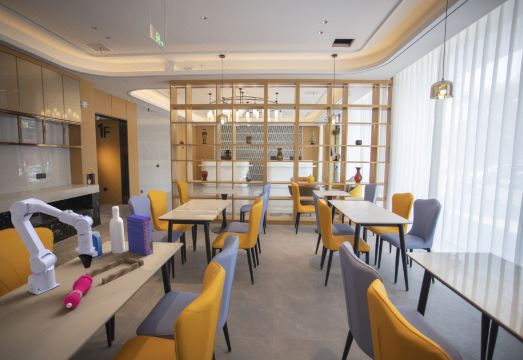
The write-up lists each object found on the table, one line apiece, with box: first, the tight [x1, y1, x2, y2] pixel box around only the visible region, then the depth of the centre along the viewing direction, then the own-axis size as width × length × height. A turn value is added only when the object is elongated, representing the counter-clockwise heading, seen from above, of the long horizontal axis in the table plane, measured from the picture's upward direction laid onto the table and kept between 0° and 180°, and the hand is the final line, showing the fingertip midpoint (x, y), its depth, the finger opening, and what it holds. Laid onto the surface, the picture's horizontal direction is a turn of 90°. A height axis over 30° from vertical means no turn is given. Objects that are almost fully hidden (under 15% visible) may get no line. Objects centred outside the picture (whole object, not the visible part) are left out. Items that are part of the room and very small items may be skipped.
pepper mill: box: [63, 274, 94, 309], centre depth 113 cm, size 7×7×20 cm
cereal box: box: [126, 214, 154, 257], centre depth 165 cm, size 17×5×24 cm, turn 64°
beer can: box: [91, 230, 103, 260], centre depth 157 cm, size 8×8×16 cm
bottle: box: [109, 205, 126, 254], centre depth 166 cm, size 8×8×30 cm
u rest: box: [85, 255, 145, 285], centre depth 140 cm, size 24×15×2 cm, turn 155°
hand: (87, 267), depth 126 cm, fingers closed
